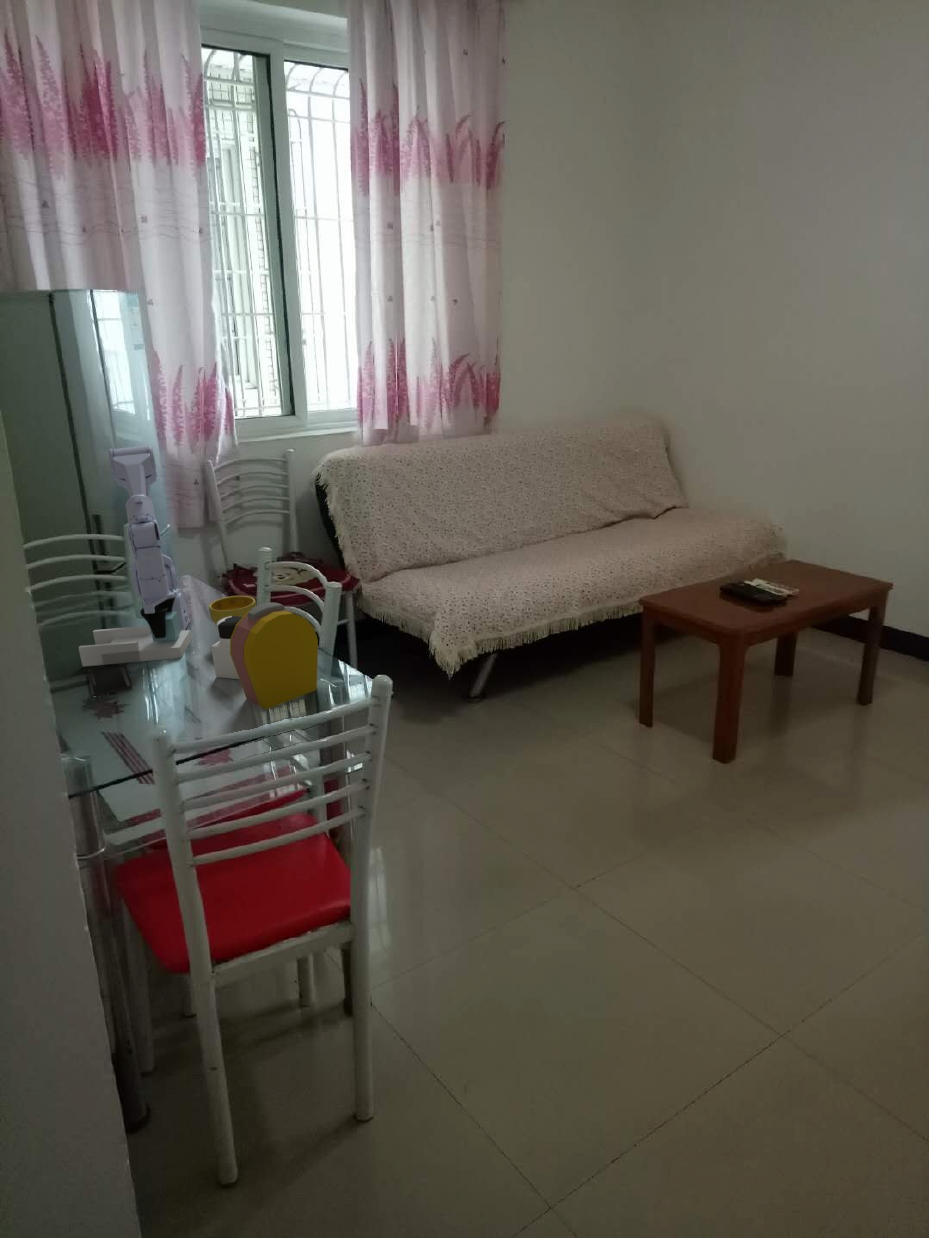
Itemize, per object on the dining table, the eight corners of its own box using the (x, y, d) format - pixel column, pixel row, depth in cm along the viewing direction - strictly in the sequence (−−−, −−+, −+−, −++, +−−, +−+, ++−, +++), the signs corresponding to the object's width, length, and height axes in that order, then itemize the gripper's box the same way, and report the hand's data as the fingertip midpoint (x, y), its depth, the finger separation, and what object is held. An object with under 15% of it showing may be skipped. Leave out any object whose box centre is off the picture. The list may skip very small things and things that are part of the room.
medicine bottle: (263, 666, 180) (255, 614, 176) (244, 680, 174) (235, 626, 170) (234, 664, 182) (226, 612, 178) (215, 677, 176) (206, 624, 172)
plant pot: (263, 646, 192) (257, 605, 188) (216, 654, 189) (209, 613, 185) (259, 631, 201) (253, 592, 197) (214, 638, 198) (207, 599, 195)
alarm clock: (301, 676, 174) (289, 591, 168) (323, 686, 169) (312, 600, 162) (236, 700, 165) (221, 612, 159) (258, 712, 159) (243, 621, 153)
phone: (124, 662, 185) (132, 686, 173) (125, 667, 186) (133, 691, 173) (86, 670, 182) (91, 695, 169) (87, 675, 183) (92, 700, 170)
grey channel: (191, 639, 198) (188, 621, 197) (181, 657, 188) (178, 638, 186) (98, 648, 197) (94, 630, 195) (82, 666, 186) (78, 647, 185)
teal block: (180, 631, 194) (177, 611, 192) (175, 639, 190) (172, 618, 188) (158, 633, 194) (154, 613, 192) (153, 641, 189) (149, 620, 187)
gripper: (163, 584, 180) (174, 643, 185) (178, 565, 194) (188, 620, 198) (129, 587, 180) (141, 646, 184) (146, 567, 193) (157, 623, 198)
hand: (163, 633), depth 191 cm, fingers closed on teal block, 5 cm apart
